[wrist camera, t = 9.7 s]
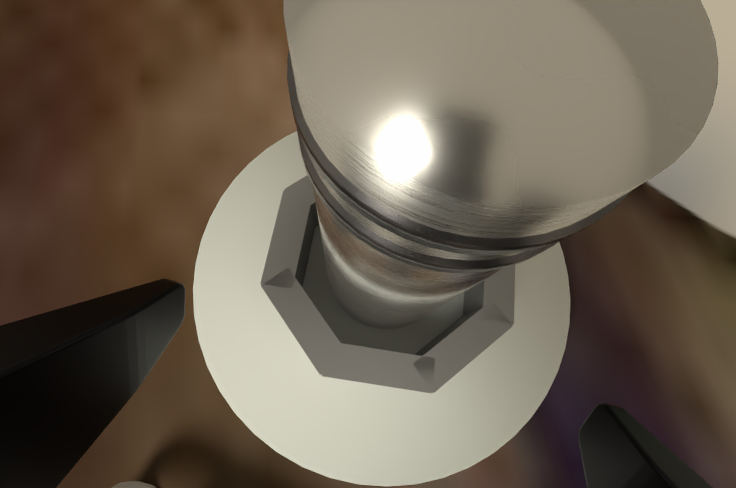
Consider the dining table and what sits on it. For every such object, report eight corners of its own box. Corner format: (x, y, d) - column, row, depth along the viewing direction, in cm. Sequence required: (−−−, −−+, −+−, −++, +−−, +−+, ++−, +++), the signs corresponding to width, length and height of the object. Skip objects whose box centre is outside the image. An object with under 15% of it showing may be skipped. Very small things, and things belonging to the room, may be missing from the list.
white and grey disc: (555, 503, 16) (622, 548, 12) (155, 442, 15) (93, 467, 12) (550, 157, 21) (596, 111, 17) (255, 108, 21) (235, 50, 17)
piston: (386, 359, 16) (550, 333, 3) (300, 268, 17) (175, -16, 4) (468, 272, 17) (800, 25, 5) (385, 194, 18) (477, -182, 6)
